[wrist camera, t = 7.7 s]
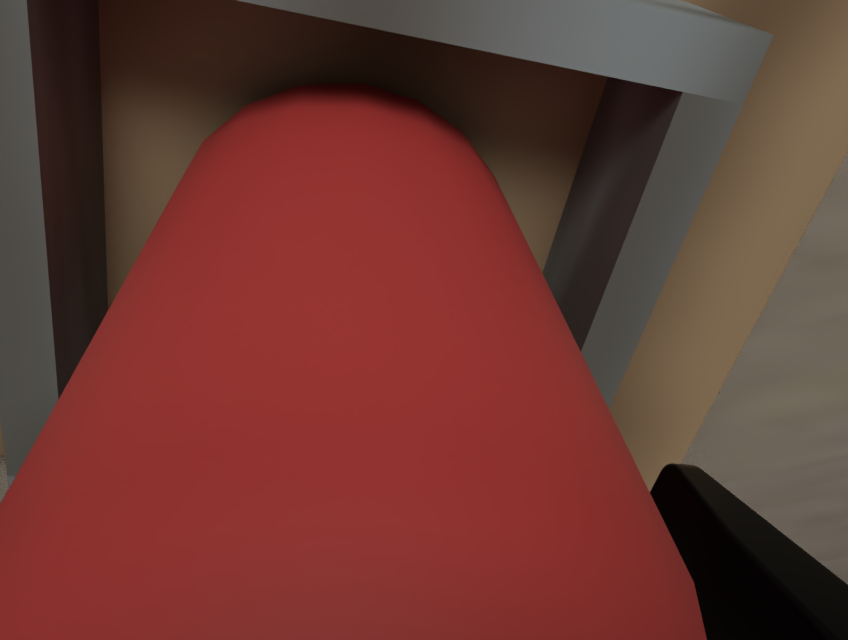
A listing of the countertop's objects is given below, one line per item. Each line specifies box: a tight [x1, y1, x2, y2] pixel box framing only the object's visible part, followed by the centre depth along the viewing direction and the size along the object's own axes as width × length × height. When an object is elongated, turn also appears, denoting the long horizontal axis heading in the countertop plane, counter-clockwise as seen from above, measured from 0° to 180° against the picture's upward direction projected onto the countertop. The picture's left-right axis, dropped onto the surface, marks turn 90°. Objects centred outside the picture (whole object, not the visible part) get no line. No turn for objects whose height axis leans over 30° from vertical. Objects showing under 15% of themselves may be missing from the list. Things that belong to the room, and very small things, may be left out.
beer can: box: [0, 83, 707, 640], centre depth 9 cm, size 7×7×12 cm
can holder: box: [0, 0, 848, 492], centre depth 13 cm, size 20×14×4 cm
